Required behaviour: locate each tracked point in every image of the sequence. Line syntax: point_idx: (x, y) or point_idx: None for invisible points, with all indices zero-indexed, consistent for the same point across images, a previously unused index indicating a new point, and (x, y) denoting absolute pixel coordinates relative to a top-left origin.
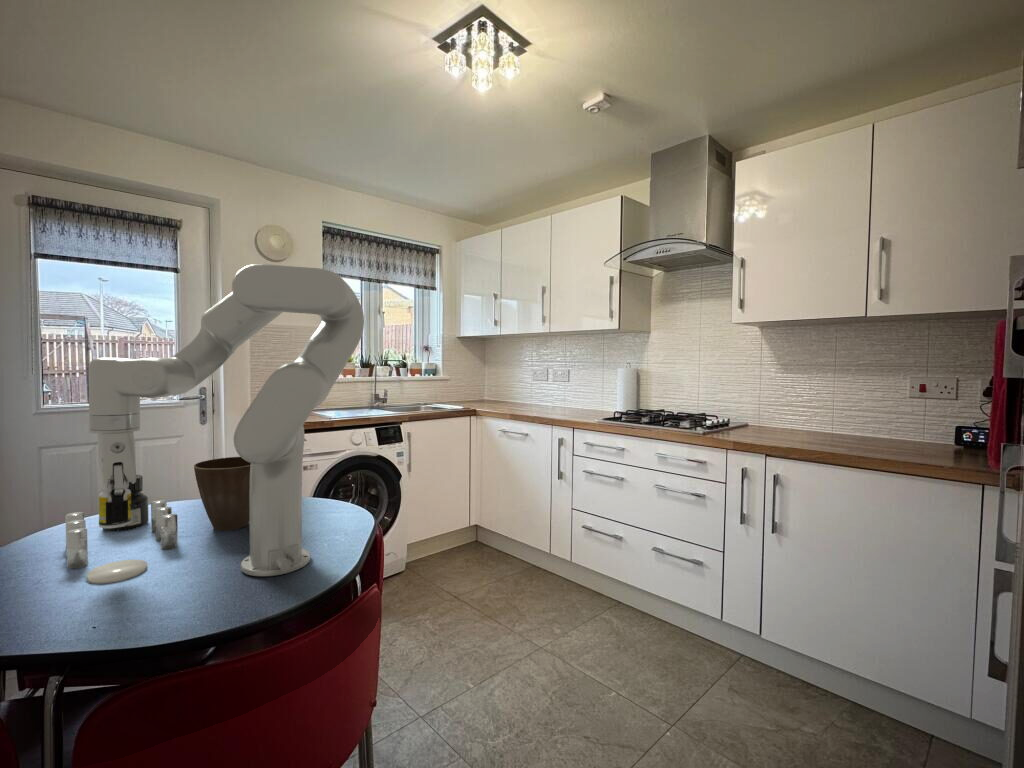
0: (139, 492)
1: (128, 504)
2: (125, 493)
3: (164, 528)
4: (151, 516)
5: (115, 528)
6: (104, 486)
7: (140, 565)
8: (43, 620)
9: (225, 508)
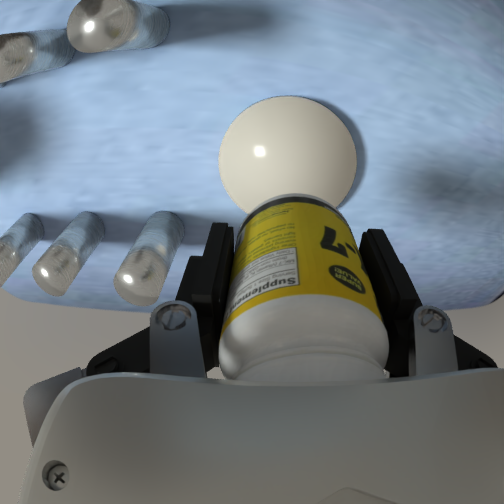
0: None
1: (354, 263)
2: (453, 347)
3: (135, 37)
4: None
5: None
6: None
7: (303, 114)
8: (431, 282)
9: None
